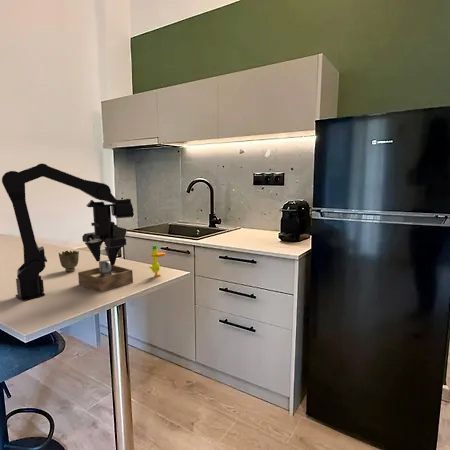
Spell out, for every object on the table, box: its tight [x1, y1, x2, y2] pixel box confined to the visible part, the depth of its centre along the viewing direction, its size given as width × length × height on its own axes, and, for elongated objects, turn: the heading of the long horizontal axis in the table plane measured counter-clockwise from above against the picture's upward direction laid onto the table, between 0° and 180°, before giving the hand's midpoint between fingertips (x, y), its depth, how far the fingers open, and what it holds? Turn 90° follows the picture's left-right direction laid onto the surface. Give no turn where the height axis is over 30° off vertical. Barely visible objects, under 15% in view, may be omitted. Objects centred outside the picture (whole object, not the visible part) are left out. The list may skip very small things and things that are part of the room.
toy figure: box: [148, 244, 167, 278], centre depth 125 cm, size 7×4×12 cm, turn 119°
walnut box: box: [77, 264, 134, 293], centre depth 117 cm, size 13×13×4 cm
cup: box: [58, 250, 80, 273], centre depth 133 cm, size 8×7×8 cm
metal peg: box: [98, 259, 112, 278], centre depth 117 cm, size 4×4×8 cm
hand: (105, 263), depth 117 cm, fingers open, 9 cm apart
